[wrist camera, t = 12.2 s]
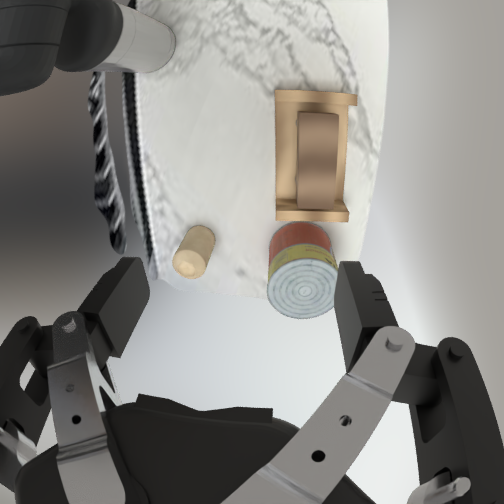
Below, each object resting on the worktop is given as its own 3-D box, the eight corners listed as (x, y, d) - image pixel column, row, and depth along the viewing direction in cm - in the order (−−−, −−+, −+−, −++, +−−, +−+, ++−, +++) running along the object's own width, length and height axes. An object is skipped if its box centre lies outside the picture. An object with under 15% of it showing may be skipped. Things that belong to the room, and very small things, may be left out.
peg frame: (275, 205, 48) (275, 220, 43) (274, 90, 38) (274, 89, 33) (340, 207, 47) (348, 222, 42) (347, 94, 37) (357, 94, 32)
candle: (200, 219, 50) (185, 248, 42) (221, 240, 52) (211, 273, 44) (180, 237, 53) (162, 267, 44) (201, 256, 54) (187, 289, 46)
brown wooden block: (297, 110, 36) (299, 112, 32) (333, 112, 35) (339, 114, 32) (295, 198, 42) (297, 208, 39) (328, 199, 42) (333, 209, 39)
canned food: (331, 271, 54) (341, 315, 44) (273, 277, 56) (271, 321, 45) (329, 218, 48) (343, 255, 38) (264, 224, 50) (261, 263, 40)
